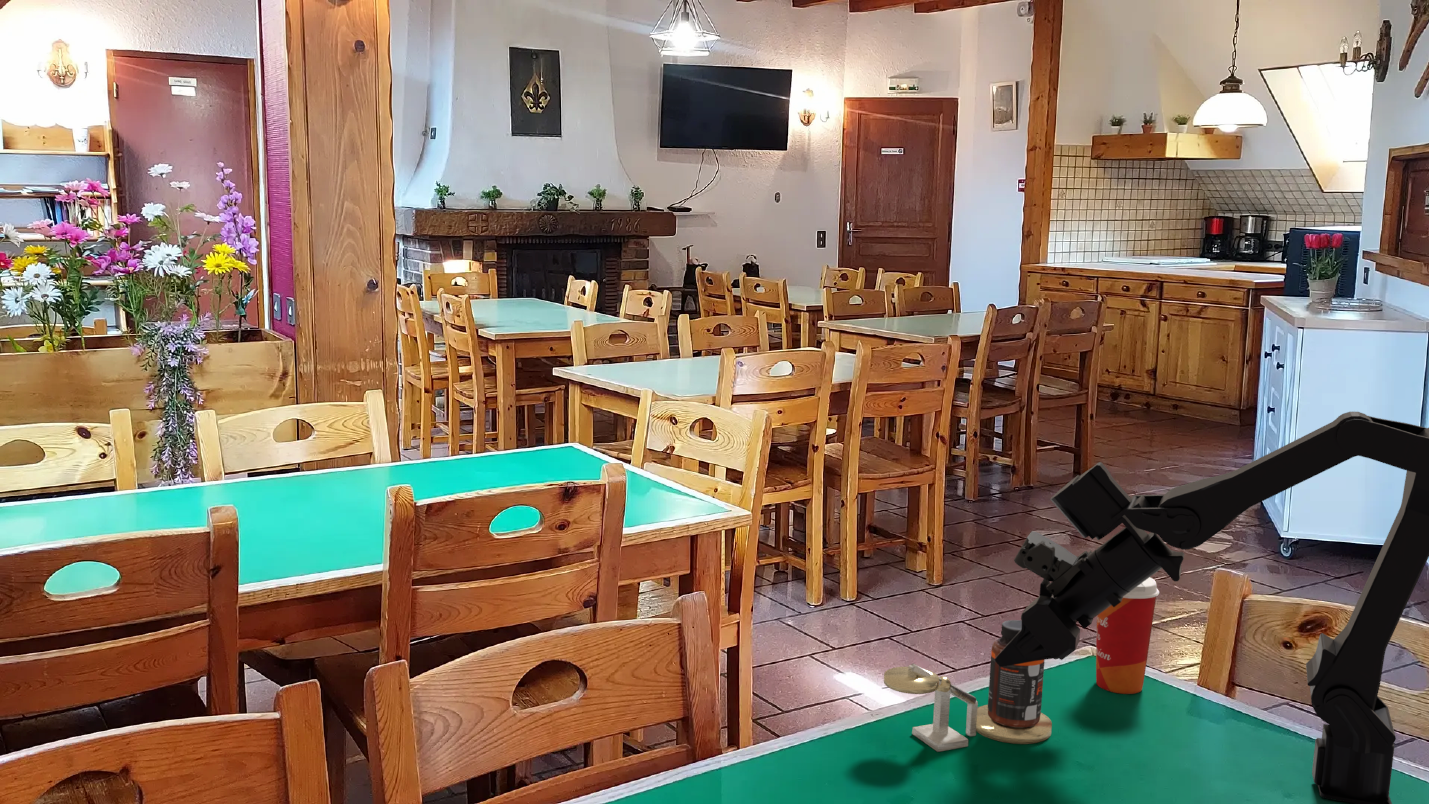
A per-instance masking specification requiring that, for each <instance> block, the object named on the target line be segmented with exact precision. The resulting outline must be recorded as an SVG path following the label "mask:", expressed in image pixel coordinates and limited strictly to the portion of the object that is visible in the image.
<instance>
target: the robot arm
mask: <svg viewBox="0 0 1429 804" xmlns="http://www.w3.org/2000/svg"><path fill="white" fill-rule="evenodd" d="M1354 457H1362V458H1366V459H1370V460H1373V461H1376V462H1380V463H1382V464H1385V465H1389V466H1390V467H1391V466H1392V467H1395V468H1398V469H1401V470H1403V471H1406V473H1405V479H1404V486H1403V492H1402V498H1401V505H1400V507H1399V510H1398V511H1397V514H1396V516H1395V518H1394V521H1393V523H1392V525H1391V527H1390V530H1389V532H1388V533H1387V536H1386V538H1385V541H1384V542H1383V545H1382V547H1381V549H1380V551H1379V554H1378V556H1377V558H1376V560H1375V563H1374V565H1373V567H1372V569H1371V571H1370V574H1369V575H1368V578H1367V579H1366V582H1365V584H1364V587H1363V589H1362V591H1361V592H1360V595H1359V596H1358V599H1357V601H1356V604H1355V606H1354V608H1353V611H1352V613H1351V615H1350V617H1349V620H1348V622H1347V623H1346V625H1345V627H1344V628H1342V630H1341V631H1340V632H1339V633H1338V634H1337V635H1336V636H1335V637H1334V638H1331V637H1329V636H1328V635H1326V634H1325V633H1324V632H1321V633H1320V634H1319V638H1318V642H1317V646H1316V651H1315V652H1314V654H1313V656H1312V657H1311V658H1310V659H1309V660H1308V661H1307V662H1305V669H1306V670H1305V671H1306V679H1307V680H1306V681H1307V686H1308V687H1309V691H1310V702H1311V703H1310V704H1311V706H1312V709H1313V710H1314V713H1315V714H1316V715H1317V716H1318V718H1320V720H1321V721H1323V724H1322V734H1321V737H1317V738H1315V741H1314V742H1315V743H1314V750H1313V759H1312V761H1313V762H1312V768H1311V769H1312V770H1311V772H1312V773H1311V775H1312V778H1313V779H1312V780H1313V782H1314V784H1315V785H1316V786H1317V789H1318V791H1319V796H1320V797H1321V798H1323V799H1327V800H1333V801H1340V802H1345V803H1351V804H1393V803H1392V800H1391V798H1390V790H1391V788H1390V787H1391V780H1392V773H1393V772H1392V771H1393V763H1394V753H1395V747H1396V746H1395V742H1396V740H1397V736H1396V734H1395V733H1396V732H1395V730H1394V726H1393V721H1392V718H1391V713H1390V710H1389V709H1390V708H1389V707H1388V705H1387V704H1386V703H1385V702H1384V701H1383V700H1382V699H1381V698H1380V697H1379V694H1378V693H1379V691H1380V686H1381V680H1382V675H1383V669H1384V668H1383V667H1384V662H1385V654H1386V650H1387V648H1388V645H1389V643H1390V640H1391V639H1392V637H1393V635H1394V632H1395V630H1396V628H1397V626H1398V623H1399V621H1400V620H1401V617H1402V615H1403V613H1404V611H1405V609H1406V607H1407V605H1408V602H1409V601H1410V598H1411V596H1412V593H1413V591H1414V589H1415V587H1416V586H1417V583H1418V581H1419V579H1420V577H1421V575H1422V572H1423V570H1424V568H1425V566H1426V564H1427V561H1428V559H1429V427H1425V426H1421V425H1420V426H1419V425H1417V424H1411V423H1408V422H1407V423H1406V422H1401V421H1397V420H1392V419H1391V420H1390V419H1385V418H1379V417H1376V416H1370V415H1367V414H1366V413H1363V412H1361V411H1347V412H1344V413H1342V414H1340V415H1338V417H1336V419H1334V420H1333V421H1331V422H1329V423H1327V424H1325V425H1324V426H1321V427H1319V428H1317V429H1315V430H1313V431H1311V432H1309V433H1307V434H1305V435H1303V436H1301V437H1300V438H1297V439H1295V440H1293V441H1292V442H1289V443H1287V444H1285V445H1283V446H1281V447H1279V448H1277V449H1275V450H1273V451H1271V452H1269V453H1267V454H1265V455H1264V456H1261V457H1259V458H1257V459H1256V460H1253V461H1251V462H1250V463H1247V464H1245V465H1243V466H1241V467H1239V468H1238V469H1236V470H1233V471H1230V472H1227V473H1224V474H1220V475H1216V476H1212V477H1205V478H1202V479H1199V480H1196V481H1192V482H1189V483H1186V484H1185V483H1184V484H1183V485H1179V486H1176V487H1173V488H1171V489H1169V490H1168V491H1167V492H1165V493H1164V494H1143V495H1142V494H1141V495H1139V494H1137V495H1135V494H1134V495H1132V496H1131V497H1130V496H1129V494H1128V493H1127V492H1126V491H1125V490H1124V489H1123V488H1122V486H1121V485H1120V484H1119V483H1118V482H1117V481H1116V480H1115V478H1113V476H1112V474H1111V472H1110V470H1109V469H1108V468H1107V467H1106V466H1105V464H1104V463H1103V462H1102V461H1100V462H1099V461H1098V462H1097V463H1096V464H1094V466H1092V467H1091V468H1089V469H1087V470H1086V471H1085V472H1083V473H1081V474H1080V475H1079V474H1077V475H1076V476H1075V477H1074V478H1072V479H1071V480H1070V481H1069V482H1067V484H1065V485H1064V486H1063V487H1062V488H1061V489H1059V490H1058V491H1057V492H1056V493H1055V494H1054V495H1052V497H1050V501H1051V502H1052V504H1054V505H1055V507H1056V508H1057V510H1059V511H1060V513H1061V514H1063V516H1064V517H1065V518H1066V519H1067V520H1068V522H1069V523H1070V524H1071V525H1072V527H1074V529H1075V530H1077V532H1078V533H1079V535H1080V536H1081V537H1082V538H1084V539H1087V537H1089V538H1090V539H1091V540H1094V539H1095V538H1096V540H1098V541H1100V540H1102V539H1103V538H1105V537H1106V536H1108V535H1109V534H1110V533H1112V532H1113V531H1114V530H1116V528H1117V527H1119V526H1120V525H1121V524H1122V525H1123V526H1124V528H1122V529H1120V530H1119V531H1118V532H1117V533H1116V534H1114V535H1113V536H1112V537H1110V538H1109V539H1108V540H1106V541H1105V542H1104V543H1103V544H1101V545H1100V546H1099V547H1097V548H1095V549H1094V550H1093V551H1092V550H1089V551H1087V550H1085V551H1084V552H1082V553H1081V554H1079V555H1078V556H1077V555H1075V554H1073V553H1072V552H1071V551H1069V550H1068V549H1067V548H1066V547H1064V546H1062V545H1060V544H1058V542H1057V543H1056V542H1055V541H1053V540H1052V539H1050V538H1048V537H1046V536H1045V535H1043V534H1041V533H1039V532H1037V531H1034V530H1031V531H1030V533H1029V534H1028V535H1027V537H1026V538H1025V540H1024V542H1023V543H1022V545H1021V547H1020V549H1019V550H1018V552H1017V553H1016V556H1015V557H1014V559H1013V562H1014V563H1015V564H1016V565H1017V566H1019V567H1020V568H1022V569H1027V570H1029V571H1030V572H1032V573H1033V574H1035V575H1037V576H1038V577H1040V578H1042V579H1043V580H1042V581H1041V583H1040V585H1039V596H1038V597H1037V598H1036V599H1034V600H1033V601H1032V602H1031V603H1030V604H1029V605H1027V606H1026V607H1025V608H1024V610H1023V611H1022V612H1021V615H1020V620H1021V621H1022V629H1021V630H1020V631H1019V632H1018V633H1017V634H1016V636H1015V637H1014V638H1013V639H1012V640H1011V641H1010V642H1009V643H1008V644H1007V645H1006V647H1005V648H1004V649H1003V650H1002V651H1001V652H1000V653H999V654H998V655H997V657H996V658H995V662H996V663H997V664H998V665H999V666H1000V667H1004V666H1010V665H1015V664H1021V663H1026V662H1032V661H1039V660H1044V661H1046V660H1051V659H1052V660H1058V659H1059V660H1061V661H1062V660H1064V659H1065V658H1067V657H1069V655H1071V654H1072V653H1074V652H1076V650H1077V648H1078V645H1079V643H1080V639H1081V638H1080V636H1081V628H1080V627H1079V626H1078V625H1077V623H1078V624H1079V625H1080V626H1081V627H1082V629H1084V630H1085V629H1086V628H1088V627H1089V626H1090V625H1092V623H1093V620H1094V619H1095V618H1097V615H1099V614H1100V613H1101V612H1103V611H1104V610H1106V609H1107V608H1108V607H1110V606H1111V605H1112V606H1113V607H1115V606H1116V605H1118V604H1119V603H1121V601H1122V598H1123V596H1125V595H1126V594H1127V593H1129V592H1130V591H1132V590H1133V589H1134V588H1136V587H1137V586H1138V585H1140V584H1141V583H1142V582H1144V581H1145V580H1147V579H1148V578H1149V577H1150V578H1152V576H1154V575H1155V574H1156V573H1157V572H1159V571H1160V570H1164V572H1165V573H1166V574H1167V576H1168V577H1169V578H1170V579H1171V580H1172V581H1173V582H1179V581H1180V579H1181V575H1182V563H1183V561H1184V559H1185V552H1183V551H1184V550H1191V549H1195V548H1197V547H1199V546H1201V545H1202V544H1204V543H1205V542H1207V541H1209V540H1210V539H1211V538H1212V537H1214V536H1215V535H1217V534H1218V533H1219V532H1221V531H1222V530H1223V529H1225V528H1226V527H1227V526H1228V525H1229V524H1231V523H1232V522H1233V521H1235V520H1236V518H1238V517H1239V516H1240V515H1242V514H1244V513H1245V511H1247V510H1249V509H1250V508H1251V507H1253V506H1256V505H1257V504H1260V503H1262V502H1264V501H1266V500H1268V499H1270V498H1273V497H1274V496H1276V495H1278V494H1280V493H1282V492H1284V491H1286V490H1288V489H1290V488H1292V487H1295V486H1296V485H1298V484H1301V483H1302V482H1305V481H1308V480H1309V479H1311V478H1313V477H1316V476H1317V475H1319V474H1321V473H1324V472H1325V471H1328V470H1329V469H1332V468H1334V467H1336V466H1338V465H1340V464H1342V463H1343V462H1346V461H1348V460H1350V459H1353V458H1354ZM1169 546H1170V547H1172V548H1177V549H1180V550H1183V551H1176V550H1172V549H1170V547H1169ZM1325 723H1326V724H1325Z"/></svg>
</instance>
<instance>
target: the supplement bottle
mask: <svg viewBox="0 0 1429 804" xmlns="http://www.w3.org/2000/svg"><path fill="white" fill-rule="evenodd" d="M1021 629H1022V621H1021V619H1011V620H1010V619H1008V620H1005V621H1003V622H1002V623H1001V630H1000V634H1001V637H998V638H996V639H995V641H994V642H993V643H992V645H991V651H990V652H991V653H990V654H991V655H990V664H989V665H990V666H989V667H990V668H989V682H988V684H989V685H988V700H987V705H988V715H989V717H990V718H991V719H992V720H993V721H995V722H997V723H999V724H1001V725H1004V726H1009V727H1016V728H1027V727H1032V726H1034V725H1036V724H1037V723H1038V722H1039V720H1040V714H1041V713H1042V712H1041V711H1042V703H1043V702H1042V701H1043V700H1042V699H1043V687H1044V686H1043V684H1044V670H1045V660H1039V661H1032V662H1026V663H1021V664H1015V665H1010V666H1004V667H1000V666H999V665H998V664H997V663H996V662H995V658H996V657H997V655H998V654H999V653H1000V652H1001V651H1002V650H1003V649H1004V648H1005V647H1006V645H1007V644H1008V643H1009V642H1010V641H1011V640H1012V639H1013V638H1014V637H1015V636H1016V634H1017V633H1018V632H1019V631H1020V630H1021Z"/></svg>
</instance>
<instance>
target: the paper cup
mask: <svg viewBox="0 0 1429 804" xmlns="http://www.w3.org/2000/svg"><path fill="white" fill-rule="evenodd" d="M1159 594H1160V590H1159V589H1158V585H1157V581H1156V580H1155V579H1154V578H1153V577H1149V578H1148V579H1147V580H1145V581H1144V582H1142V583H1141V584H1140V585H1138V586H1137V587H1136V588H1134V589H1133V590H1132V591H1130V592H1129V593H1127V594H1126V595H1125V596H1123V598H1122V601H1121V603H1119V604H1118V605H1116V606H1115V607H1113V606H1112V605H1111V606H1110V607H1108V608H1107V609H1106V610H1104V611H1103V612H1101V613H1100V614H1099V615H1097V616H1096V633H1095V634H1096V635H1095V636H1096V641H1095V642H1096V644H1095V645H1096V646H1095V649H1096V650H1095V651H1096V652H1095V658H1096V659H1095V676H1096V677H1095V679H1096V680H1095V681H1096V682H1095V683H1096V685H1097V686H1098V687H1099V688H1100V689H1102V690H1105V691H1107V692H1111V693H1115V694H1121V695H1122V694H1123V695H1134V694H1138V693H1141V692H1142V690H1143V686H1144V682H1145V681H1144V680H1145V674H1146V670H1147V669H1146V668H1147V663H1148V656H1149V655H1148V654H1149V649H1150V642H1151V637H1152V635H1151V634H1152V628H1153V621H1154V614H1155V608H1156V607H1155V606H1156V601H1157V597H1158V596H1159Z"/></svg>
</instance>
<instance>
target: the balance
mask: <svg viewBox="0 0 1429 804" xmlns="http://www.w3.org/2000/svg"><path fill="white" fill-rule="evenodd" d="M883 684H884V685H885V686H886V687H887V688H889V689H890V690H893V691H895V692H899V693H901V694H902V693H903V694H910V695H924V694H930V693H933V692H934V700H933V701H934V703H933V719H932V723H931V724H930V723H929V724H925V725H919V726H912V731H911V734H912V735H913V736H914V737H916V738H917V739H919V740H920V741H921V742H923V743H924V744H926V745H928V746H929V747H930V748H932V749H933V750H934V751H936V752H937V753H938V752H944V751H949V750H956V749H961V748H966V747H969V739H968V738H967V737H965V736H964V735H962V733H961V734H960V733H959V732H958V731H956V730H955V729H953V728H952V727H950V726H949V721H950V719H949V718H950V717H949V715H950V703H951V702H950V701H951V695H952V696H954V697H955V698H958V699H959V700H961V701H962V702H964V703H966V704H967V705H966V706H967V707H966V724H965V727H966V728H965V734H966V736H969V737H975V736H977V733H978V734H980V735H981V736H983V737H985V738H988V739H991V740H994V741H998V742H1002V743H1008V744H1014V745H1015V744H1016V745H1028V744H1029V745H1030V744H1037V743H1041V742H1044V741H1046V740H1048V739H1049V738H1050V737H1051V735H1052V727H1053V723H1052V720H1051V719H1050V718H1049V716H1047V715H1046V714H1044V713H1043V712H1041V714H1040V720H1039V722H1038V723H1037V724H1036V725H1034V726H1032V727H1027V728H1016V727H1009V726H1004V725H1001V724H999V723H997V722H995V721H993V720H992V719H991V718H990V717H989V715H988V704H984V705H981V706H978V705H979V704H978V703H979V702H978V701H977V698H976V697H975V696H974V695H972V694H970V693H969V692H966V691H965V690H963V689H961V688H959V687H958V686H956V685H953V684H952V682H951V680H950V679H949V677H947V676H943V675H942V676H939V675H938V674H936V673H935V672H933V671H931V670H929V669H925V668H923V667H921V666H919V665H917V664H915V663H911V664H910V665H908V666H896V667H892V668H889V669H886V671H884V674H883Z"/></svg>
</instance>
